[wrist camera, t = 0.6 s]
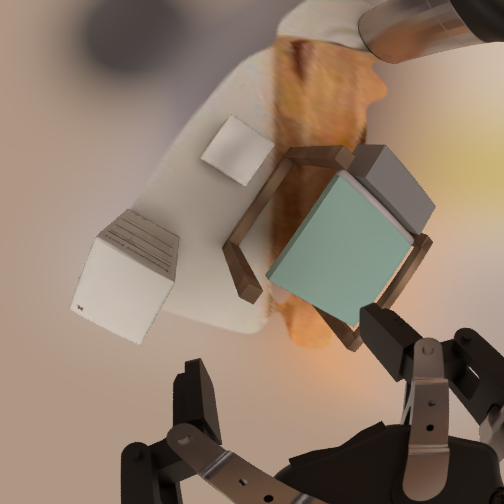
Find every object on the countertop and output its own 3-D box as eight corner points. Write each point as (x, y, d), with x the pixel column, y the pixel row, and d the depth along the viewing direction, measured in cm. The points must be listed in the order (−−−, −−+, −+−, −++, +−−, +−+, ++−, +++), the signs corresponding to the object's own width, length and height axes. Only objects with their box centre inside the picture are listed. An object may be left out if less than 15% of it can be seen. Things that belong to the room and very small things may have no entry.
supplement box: (153, 286, 33) (139, 349, 22) (102, 258, 31) (65, 309, 19) (181, 237, 32) (177, 283, 21) (128, 205, 30) (93, 235, 18)
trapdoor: (348, 135, 24) (375, 134, 20) (414, 205, 28) (440, 213, 24) (259, 266, 26) (272, 287, 22) (341, 313, 30) (360, 334, 26)
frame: (290, 147, 31) (343, 145, 20) (370, 215, 37) (433, 242, 25) (221, 248, 34) (239, 297, 22) (311, 299, 39) (354, 352, 27)
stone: (224, 122, 29) (231, 114, 23) (260, 146, 31) (274, 144, 25) (199, 158, 30) (200, 158, 24) (235, 181, 31) (245, 186, 26)
